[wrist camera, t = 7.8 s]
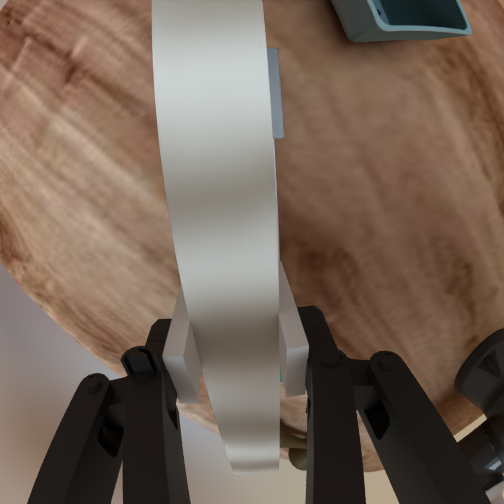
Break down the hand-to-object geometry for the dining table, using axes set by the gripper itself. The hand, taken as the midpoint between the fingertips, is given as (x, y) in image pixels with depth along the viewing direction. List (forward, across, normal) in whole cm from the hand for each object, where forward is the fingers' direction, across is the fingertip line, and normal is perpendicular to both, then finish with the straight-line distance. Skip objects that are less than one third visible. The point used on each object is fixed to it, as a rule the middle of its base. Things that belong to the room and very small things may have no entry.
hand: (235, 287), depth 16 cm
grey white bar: (+1, 0, 0) cm, 1 cm away
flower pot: (+11, -13, -20) cm, 26 cm away
